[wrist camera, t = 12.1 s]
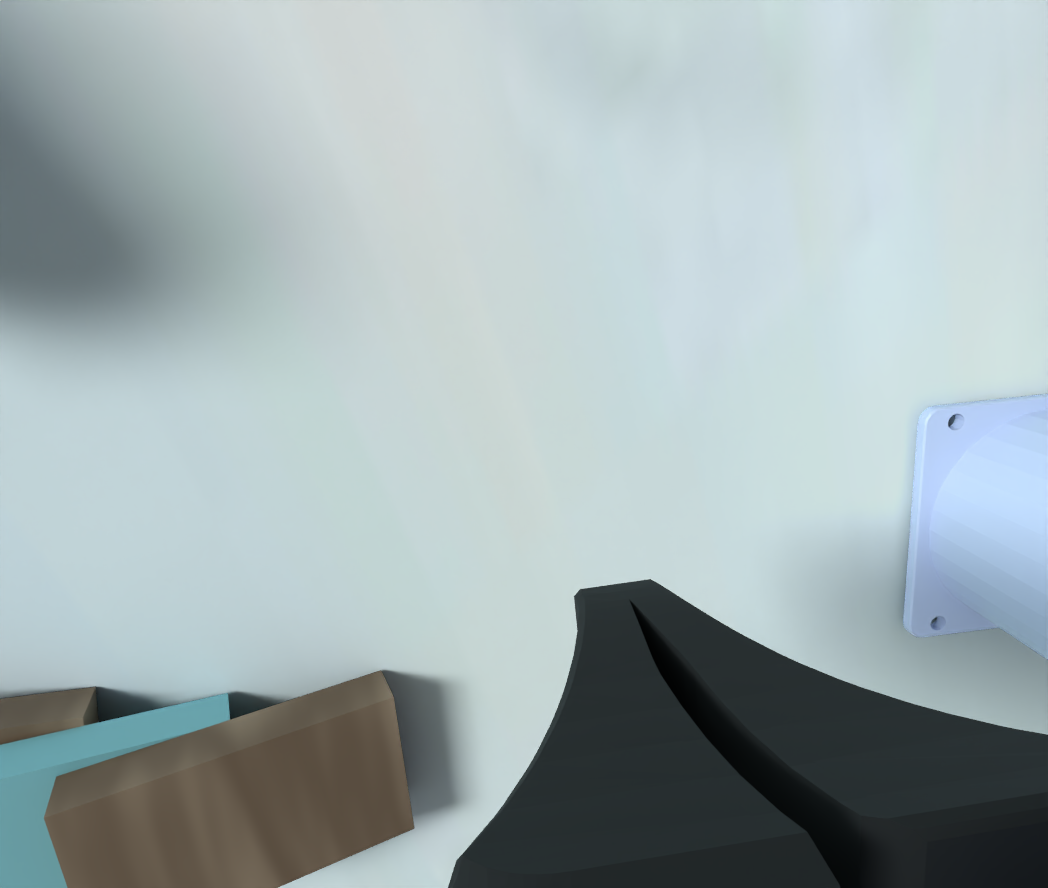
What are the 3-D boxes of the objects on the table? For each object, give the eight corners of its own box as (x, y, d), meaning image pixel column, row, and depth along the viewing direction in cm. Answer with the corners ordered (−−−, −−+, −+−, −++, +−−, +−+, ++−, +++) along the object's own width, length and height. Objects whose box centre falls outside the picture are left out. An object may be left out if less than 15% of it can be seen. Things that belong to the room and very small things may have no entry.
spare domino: (230, 722, 20) (-177, 822, 16) (243, 859, 21) (-132, 982, 17) (228, 692, 21) (-147, 778, 17) (240, 822, 22) (-107, 929, 18)
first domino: (393, 696, 20) (43, 817, 17) (414, 828, 21) (94, 966, 18) (381, 670, 21) (56, 776, 18) (401, 795, 23) (102, 917, 19)
